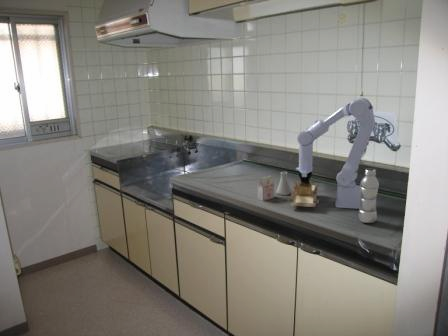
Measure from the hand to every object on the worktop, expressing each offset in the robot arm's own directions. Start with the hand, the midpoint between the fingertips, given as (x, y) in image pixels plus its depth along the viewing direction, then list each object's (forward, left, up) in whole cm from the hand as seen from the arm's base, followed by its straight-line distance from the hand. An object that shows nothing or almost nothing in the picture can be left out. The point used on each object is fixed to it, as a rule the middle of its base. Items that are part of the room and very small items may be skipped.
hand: (304, 188), depth 166 cm
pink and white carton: (+17, +2, -5) cm, 18 cm away
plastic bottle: (-24, +22, -5) cm, 33 cm away
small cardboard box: (0, +4, -2) cm, 5 cm away
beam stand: (0, +4, -5) cm, 6 cm away
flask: (+10, -7, -5) cm, 13 cm away
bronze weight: (0, +4, -1) cm, 4 cm away
